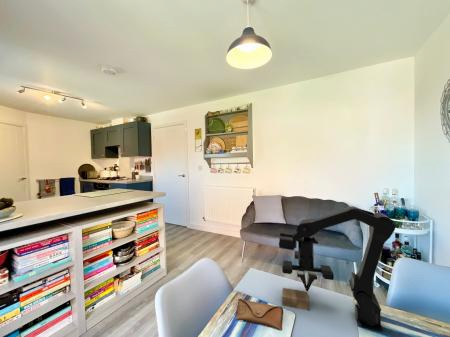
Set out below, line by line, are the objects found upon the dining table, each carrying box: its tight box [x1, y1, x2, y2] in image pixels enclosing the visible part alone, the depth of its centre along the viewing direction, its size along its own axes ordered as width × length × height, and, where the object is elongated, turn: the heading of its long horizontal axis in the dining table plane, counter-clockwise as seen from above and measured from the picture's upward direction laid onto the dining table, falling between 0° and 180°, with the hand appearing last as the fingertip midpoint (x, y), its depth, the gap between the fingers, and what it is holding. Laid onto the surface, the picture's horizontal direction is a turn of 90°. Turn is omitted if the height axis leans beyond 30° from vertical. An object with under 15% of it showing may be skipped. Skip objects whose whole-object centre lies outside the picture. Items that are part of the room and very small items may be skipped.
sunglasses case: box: [235, 298, 284, 331], centre depth 72 cm, size 18×7×7 cm
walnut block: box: [281, 287, 310, 312], centre depth 79 cm, size 4×6×10 cm
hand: (306, 290), depth 77 cm, fingers closed
